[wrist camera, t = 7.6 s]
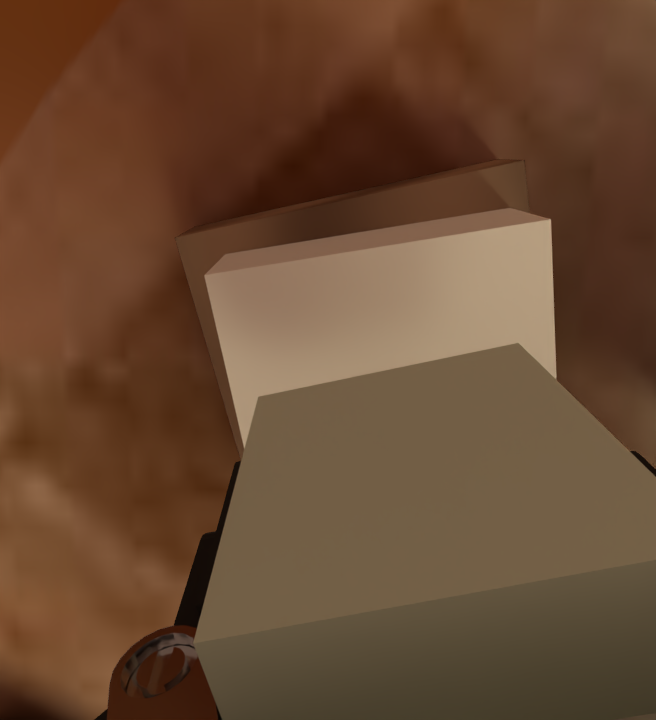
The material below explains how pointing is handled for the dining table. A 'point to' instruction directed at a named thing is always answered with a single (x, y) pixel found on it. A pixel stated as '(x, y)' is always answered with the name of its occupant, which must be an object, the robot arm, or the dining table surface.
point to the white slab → (382, 301)
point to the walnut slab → (342, 230)
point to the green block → (434, 554)
